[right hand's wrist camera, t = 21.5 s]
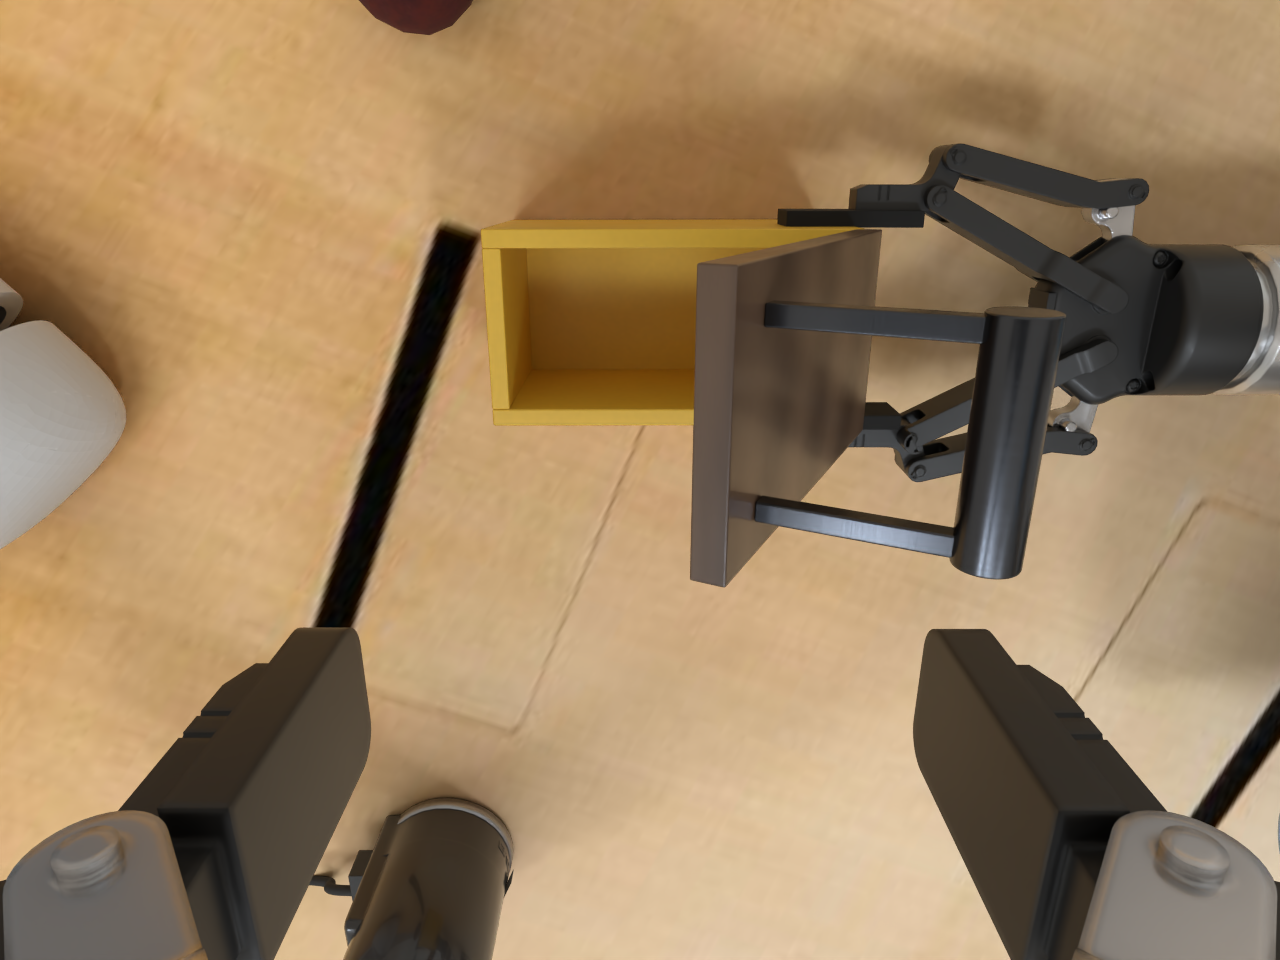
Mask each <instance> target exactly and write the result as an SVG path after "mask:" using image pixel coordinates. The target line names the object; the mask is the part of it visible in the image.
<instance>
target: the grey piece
mask: <svg viewBox="0 0 1280 960" xmlns="http://www.w3.org/2000/svg"><path fill="white" fill-rule="evenodd" d="M22 307H23V299H22V297H21V296H20V294H18V293H17V292H16V291H15V290H14V289H13V288H11V287H10V286H9V285H8V284H7V283H5V282H4V281H3V280H2V279H1V278H0V549H1V548H3V547H5V546H6V545H8V544H9V543H11V542H12V541H14V540H15V539H17V538H18V537H20V536H21V535H23V534H24V533H26V532H27V531H28V530H30V529H31V528H32V527H34V526H35V525H36V524H37V523H39V522H40V521H41V520H43V519H44V518H45V517H46V516H48V515H49V514H50V513H51V512H52V511H53V510H55V509H56V508H57V507H58V506H59V505H60V504H62V503H63V502H64V501H65V500H66V499H67V498H68V497H69V496H70V495H71V494H72V493H73V492H74V491H75V490H77V489H78V488H79V487H80V486H81V485H82V484H83V483H84V482H85V480H86V479H87V478H88V477H89V476H90V475H91V474H92V473H93V472H94V471H95V470H96V469H97V468H98V467H99V466H100V464H101V463H102V462H103V461H104V460H105V459H106V457H107V456H108V455H109V453H110V452H111V451H112V449H113V448H114V447H115V445H116V444H117V442H118V440H119V439H120V437H121V435H122V433H123V430H124V428H125V424H126V409H125V405H124V403H123V400H122V398H121V396H120V394H119V392H118V391H117V389H116V387H115V386H114V384H113V383H112V381H111V380H110V379H109V378H108V376H107V375H106V374H105V373H104V372H103V371H102V370H101V368H100V367H99V366H98V365H97V364H96V363H95V362H94V361H93V360H92V359H91V358H90V357H89V356H88V355H87V354H86V353H84V352H83V351H82V350H81V349H80V348H79V347H78V346H77V345H76V344H75V343H74V342H73V341H71V340H70V339H69V338H68V337H67V336H66V335H65V334H64V333H63V332H61V331H60V330H59V329H58V328H57V327H56V326H55V325H54V324H52V323H51V322H48V321H42V320H39V321H30V322H26V323H22V324H18V325H15V326H12V327H9V326H10V325H11V323H12V322H13V321H14V320H15V319H16V317H17V316H18V314H19V313H20V311H21V309H22ZM8 327H9V328H8Z"/></svg>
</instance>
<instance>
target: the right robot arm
mask: <svg viewBox="0 0 1280 960" xmlns="http://www.w3.org/2000/svg"><path fill="white" fill-rule="evenodd" d="M370 739H371V720H370V712H369V705H368V697H367V690H366V683H365V675H364V668H363V661H362V653H361V646H360V640H359V637H358V634H357V632H356V631H355V630H354V629H353V628H297V629H296V630H295V631H294V632H293V633H292V634H291V635H290V636H289V638H288V639H287V640H286V642H285V643H284V644H283V646H282V647H281V648H280V649H279V651H278V652H277V653H276V655H275V656H274V657H273V658H272V660H271V661H270V662H269V663H256V664H254V665H253V666H251V667H250V668H248V669H247V670H245V671H243V672H242V673H240V674H239V675H237V676H236V677H234V678H233V679H231V680H230V681H228V682H227V683H225V684H224V685H222V686H221V688H220V689H219V690H218V691H217V692H216V694H215V695H214V696H213V697H212V698H211V700H210V701H209V702H208V703H207V704H206V706H205V707H204V708H203V709H202V710H201V716H197V717H196V718H195V719H194V720H193V721H192V723H191V724H190V725H189V726H188V727H187V729H186V730H185V731H184V732H183V738H178V739H177V741H176V742H175V743H174V744H173V745H172V747H171V748H170V749H169V750H168V751H167V753H166V754H165V755H164V756H163V757H162V759H161V760H160V761H159V762H158V763H157V765H156V766H155V767H154V768H153V769H152V771H151V772H150V773H149V774H148V775H147V777H146V778H145V779H144V780H143V781H142V783H141V784H140V785H139V786H138V788H137V789H136V790H135V791H134V792H133V794H132V795H131V796H130V797H129V798H128V800H127V801H126V802H125V803H124V804H123V806H122V807H121V808H120V809H119V810H118V811H116V812H109V813H105V814H101V815H96V816H93V817H90V818H87V819H84V820H82V821H79V822H77V823H74V824H72V825H70V826H68V827H66V828H64V829H62V830H60V831H58V832H56V833H54V834H53V835H51V836H50V837H48V838H46V839H45V840H43V841H42V842H41V843H39V844H38V845H37V846H35V847H34V848H33V849H31V850H30V851H29V852H28V853H27V854H26V855H25V856H24V857H23V858H22V859H21V860H20V861H19V862H18V863H17V865H16V866H15V867H14V868H13V870H12V871H11V873H10V874H9V876H8V877H7V880H4V881H0V960H274V958H275V956H276V954H277V951H278V949H279V947H280V945H281V943H282V941H283V939H284V937H285V934H286V932H287V930H288V928H289V926H290V924H291V922H292V920H293V918H294V915H295V913H296V911H297V909H298V907H299V905H300V903H301V901H302V898H303V896H304V894H305V892H306V890H307V888H308V886H309V885H315V886H323V887H324V891H325V892H326V893H328V894H331V895H338V896H352V900H353V903H352V905H351V908H350V910H349V913H348V915H347V918H346V920H345V926H344V929H345V935H346V941H347V946H348V948H347V951H346V953H345V956H344V959H343V960H492V956H493V951H494V945H495V940H496V935H497V930H498V925H499V919H500V914H501V909H502V904H503V899H504V896H505V894H506V892H507V890H508V888H509V886H510V884H511V881H512V875H513V871H512V874H511V876H510V878H509V880H508V876H509V872H510V868H511V864H512V858H513V843H512V839H511V836H510V834H509V832H508V830H507V828H506V827H505V825H504V824H503V823H502V822H501V820H500V819H499V818H497V817H496V816H495V815H494V814H493V813H492V812H490V811H489V810H487V809H485V808H483V807H482V806H479V805H477V804H475V803H472V802H469V801H465V800H460V799H453V798H439V799H432V800H427V801H424V802H421V803H419V804H416V805H414V806H412V807H411V808H409V809H408V810H406V811H405V812H404V813H402V814H401V815H394V816H387V817H386V820H385V822H384V825H383V827H382V830H381V832H380V835H379V837H378V840H377V842H376V845H375V848H374V850H360V851H359V852H358V855H357V857H356V859H355V862H354V864H353V867H352V869H351V871H350V874H349V876H348V877H349V883H350V885H337V884H336V883H335V880H334V879H333V878H332V877H326V876H313V875H314V873H315V871H316V869H317V867H318V865H319V862H320V860H321V858H322V856H323V854H324V852H325V850H326V848H327V845H328V843H329V841H330V839H331V837H332V835H333V833H334V831H335V828H336V826H337V824H338V822H339V820H340V818H341V816H342V814H343V812H344V809H345V807H346V805H347V803H348V801H349V799H350V797H351V795H352V792H353V790H354V788H355V786H356V784H357V782H358V780H359V778H360V775H361V773H362V771H363V769H364V767H365V764H366V761H367V757H368V753H369V747H370ZM913 739H914V748H915V754H916V758H917V762H918V765H919V768H920V770H921V772H922V775H923V777H924V779H925V781H926V783H927V785H928V787H929V789H930V791H931V793H932V795H933V798H934V800H935V802H936V804H937V806H938V808H939V810H940V812H941V814H942V816H943V819H944V821H945V823H946V825H947V827H948V829H949V831H950V833H951V835H952V837H953V839H954V842H955V844H956V846H957V848H958V850H959V852H960V854H961V856H962V858H963V860H964V863H965V865H966V867H967V869H968V871H969V873H970V875H971V877H972V879H973V881H974V883H975V886H976V888H977V890H978V892H979V894H980V896H981V898H982V900H983V902H984V904H985V907H986V909H987V911H988V913H989V915H990V917H991V919H992V921H993V923H994V925H995V927H996V930H997V932H998V934H999V936H1000V938H1001V940H1002V942H1003V944H1004V946H1005V948H1006V950H1007V953H1008V955H1009V957H1010V959H1011V960H1280V882H1277V881H1274V880H1273V877H1272V876H1271V874H1270V873H1269V871H1268V870H1267V868H1266V867H1265V866H1264V865H1263V863H1262V862H1261V861H1260V860H1259V859H1258V858H1257V857H1256V856H1255V855H1254V854H1253V853H1252V852H1251V851H1250V850H1249V849H1247V848H1246V847H1245V846H1243V845H1242V844H1241V843H1239V842H1238V841H1237V840H1235V839H1234V838H1232V837H1230V836H1229V835H1227V834H1226V833H1224V832H1222V831H1220V830H1218V829H1216V828H1214V827H1212V826H1210V825H1208V824H1206V823H1203V822H1201V821H1198V820H1196V819H1193V818H1190V817H1187V816H1184V815H1179V814H1175V813H1171V812H1167V811H1166V810H1165V808H1164V807H1163V806H1162V805H1161V804H1160V802H1159V801H1158V800H1157V799H1156V798H1155V796H1154V795H1153V794H1152V793H1151V792H1150V790H1149V789H1148V788H1147V787H1146V786H1145V784H1144V783H1143V782H1142V781H1141V780H1140V778H1139V777H1138V776H1137V775H1136V774H1135V773H1134V771H1133V770H1132V769H1131V768H1130V767H1129V765H1128V764H1127V763H1126V762H1125V761H1124V759H1123V758H1122V757H1121V756H1120V755H1119V753H1118V752H1117V751H1116V750H1115V749H1114V747H1113V746H1112V745H1111V744H1110V743H1109V742H1108V740H1103V737H1102V733H1101V732H1100V731H1099V730H1098V728H1097V727H1096V726H1095V725H1094V724H1093V722H1092V721H1091V720H1090V719H1089V718H1085V716H1084V712H1083V711H1082V709H1081V708H1080V707H1079V706H1078V705H1077V703H1076V702H1075V701H1074V700H1073V699H1072V697H1071V696H1070V695H1069V694H1068V693H1067V691H1066V690H1065V689H1064V688H1063V687H1062V686H1060V685H1059V684H1057V683H1056V682H1054V681H1053V680H1051V679H1050V678H1048V677H1047V676H1045V675H1044V674H1042V673H1041V672H1039V671H1038V670H1036V669H1035V668H1033V667H1031V666H1030V665H1016V664H1015V663H1014V661H1013V660H1012V659H1011V657H1010V656H1009V655H1008V654H1007V652H1006V651H1005V650H1004V648H1003V647H1002V646H1001V645H1000V643H999V642H998V641H997V639H996V638H995V637H994V636H993V634H992V633H991V632H990V631H988V630H986V629H932V630H930V631H929V633H928V634H927V636H926V639H925V643H924V649H923V656H922V664H921V671H920V678H919V686H918V693H917V700H916V707H915V715H914V723H913ZM513 870H514V869H513ZM507 881H508V882H507ZM506 883H507V884H506Z"/></svg>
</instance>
